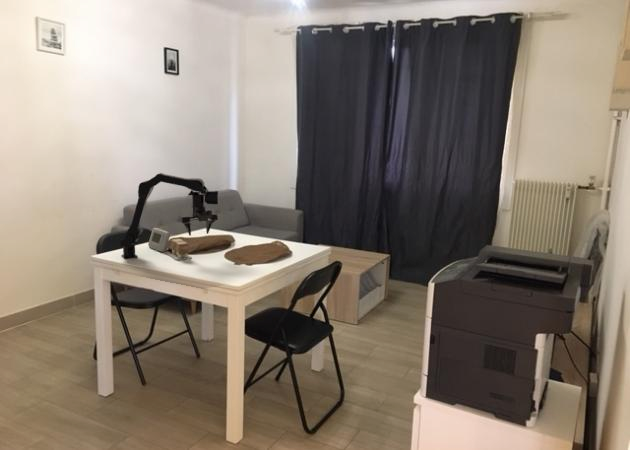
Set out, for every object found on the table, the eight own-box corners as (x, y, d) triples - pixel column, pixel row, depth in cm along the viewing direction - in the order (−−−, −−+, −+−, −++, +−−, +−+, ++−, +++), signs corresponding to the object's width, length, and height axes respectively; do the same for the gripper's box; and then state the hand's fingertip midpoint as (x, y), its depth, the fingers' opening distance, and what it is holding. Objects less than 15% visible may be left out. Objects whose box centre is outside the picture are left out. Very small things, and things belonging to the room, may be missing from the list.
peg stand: (168, 254, 261) (168, 249, 261) (183, 253, 266) (183, 247, 265) (176, 260, 251) (176, 254, 251) (191, 258, 256) (191, 252, 255)
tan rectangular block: (171, 248, 261) (171, 239, 260) (180, 247, 264) (179, 238, 263) (179, 254, 252) (179, 244, 251) (188, 253, 254) (187, 243, 253)
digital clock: (147, 246, 276) (146, 227, 274) (163, 245, 281) (163, 226, 279) (156, 253, 263) (155, 233, 261) (173, 251, 268) (172, 232, 266)
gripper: (185, 208, 241) (186, 239, 244) (222, 205, 251) (222, 235, 254) (177, 204, 250) (178, 235, 253) (213, 202, 260) (213, 231, 263)
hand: (198, 234), depth 256 cm, fingers open, 9 cm apart
